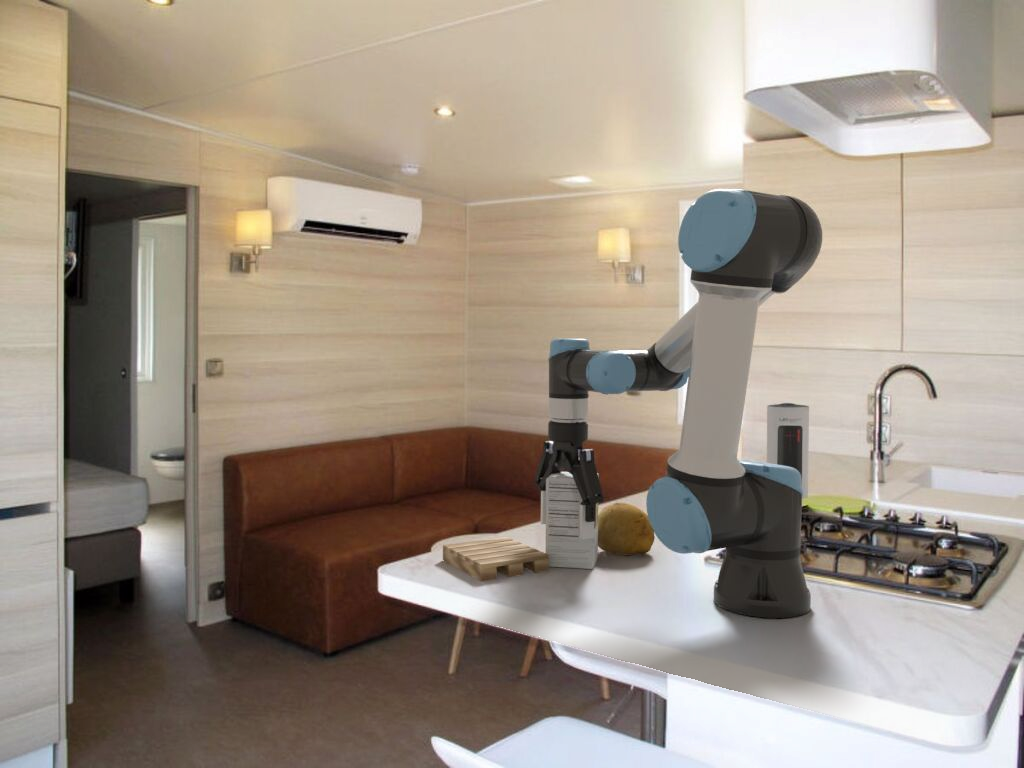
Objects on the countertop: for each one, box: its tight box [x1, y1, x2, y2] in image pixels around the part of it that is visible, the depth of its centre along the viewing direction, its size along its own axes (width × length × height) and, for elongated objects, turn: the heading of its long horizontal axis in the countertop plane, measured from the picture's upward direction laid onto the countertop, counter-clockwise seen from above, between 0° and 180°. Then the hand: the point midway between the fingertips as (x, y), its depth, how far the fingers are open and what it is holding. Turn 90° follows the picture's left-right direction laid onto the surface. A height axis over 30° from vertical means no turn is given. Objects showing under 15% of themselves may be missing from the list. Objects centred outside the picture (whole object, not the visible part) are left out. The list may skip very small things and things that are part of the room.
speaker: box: [766, 402, 810, 499], centre depth 220 cm, size 11×10×26 cm
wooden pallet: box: [442, 536, 550, 582], centre depth 161 cm, size 16×14×3 cm
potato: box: [598, 502, 656, 556], centre depth 171 cm, size 10×12×10 cm
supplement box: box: [545, 471, 600, 570], centre depth 163 cm, size 10×9×17 cm
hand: (566, 530), depth 163 cm, fingers open, 13 cm apart
